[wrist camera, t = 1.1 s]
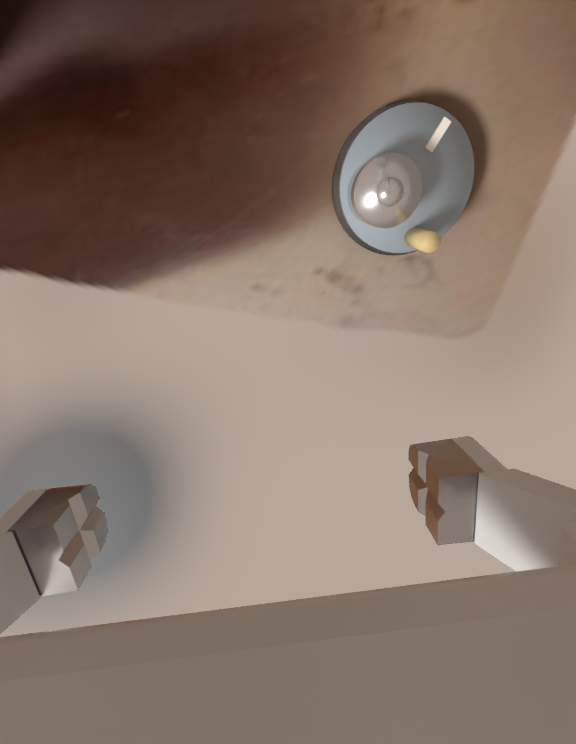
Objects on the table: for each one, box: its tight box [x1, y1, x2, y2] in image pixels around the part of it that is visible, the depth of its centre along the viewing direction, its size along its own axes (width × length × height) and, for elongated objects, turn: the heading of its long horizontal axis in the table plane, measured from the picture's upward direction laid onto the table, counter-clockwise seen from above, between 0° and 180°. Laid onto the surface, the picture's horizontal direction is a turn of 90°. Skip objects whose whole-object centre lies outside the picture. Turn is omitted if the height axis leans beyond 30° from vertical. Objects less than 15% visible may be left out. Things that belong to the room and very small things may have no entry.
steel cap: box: [347, 153, 422, 228], centre depth 29 cm, size 5×5×4 cm
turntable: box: [339, 102, 474, 253], centre depth 29 cm, size 11×11×5 cm
